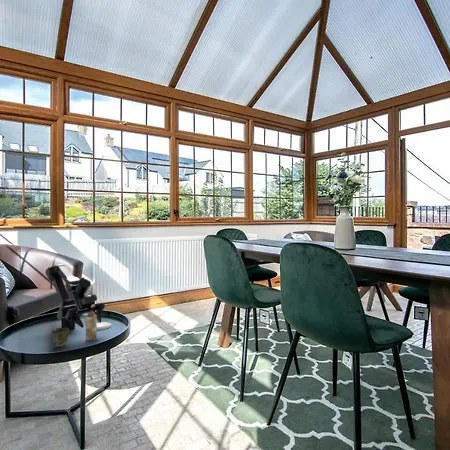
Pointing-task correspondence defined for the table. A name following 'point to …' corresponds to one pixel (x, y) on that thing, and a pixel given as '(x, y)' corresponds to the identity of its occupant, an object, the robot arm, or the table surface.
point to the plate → (103, 325)
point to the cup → (60, 336)
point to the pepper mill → (91, 327)
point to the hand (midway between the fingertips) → (92, 324)
